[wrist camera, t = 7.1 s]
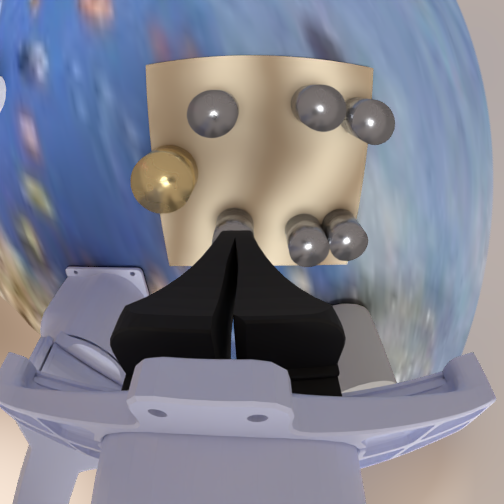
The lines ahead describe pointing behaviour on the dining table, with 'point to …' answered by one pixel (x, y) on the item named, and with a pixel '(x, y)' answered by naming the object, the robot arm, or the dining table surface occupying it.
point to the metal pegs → (319, 119)
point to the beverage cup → (2, 92)
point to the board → (256, 148)
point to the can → (361, 351)
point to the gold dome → (164, 179)
